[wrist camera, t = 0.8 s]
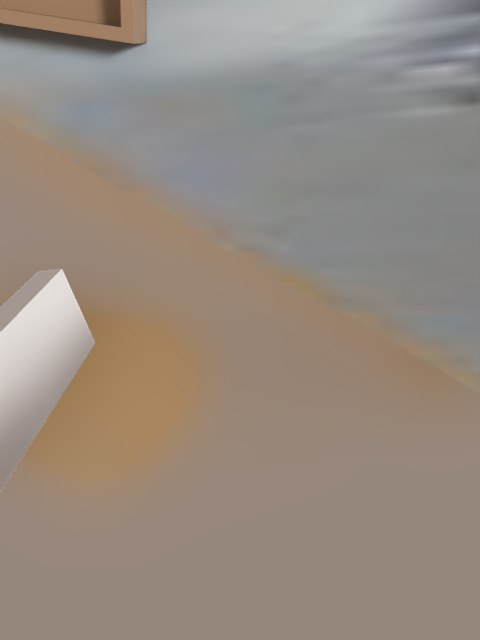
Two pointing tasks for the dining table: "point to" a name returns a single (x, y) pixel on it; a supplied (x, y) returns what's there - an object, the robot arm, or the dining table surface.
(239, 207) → the dining table surface
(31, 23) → the brown square tray
